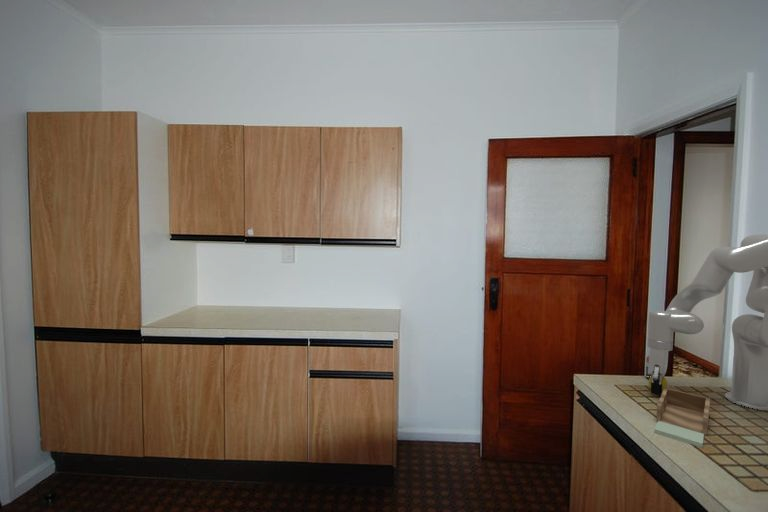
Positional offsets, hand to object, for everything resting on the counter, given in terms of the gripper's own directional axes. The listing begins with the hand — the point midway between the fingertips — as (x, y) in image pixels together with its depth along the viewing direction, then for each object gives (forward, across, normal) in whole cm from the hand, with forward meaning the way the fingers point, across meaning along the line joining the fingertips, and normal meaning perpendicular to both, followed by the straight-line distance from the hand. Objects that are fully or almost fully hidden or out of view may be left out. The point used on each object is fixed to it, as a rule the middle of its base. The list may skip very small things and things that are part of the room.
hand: (657, 390), depth 136 cm
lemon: (+2, 0, 0) cm, 2 cm away
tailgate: (+1, +27, +9) cm, 28 cm away
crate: (+1, +17, +9) cm, 19 cm away
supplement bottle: (+2, -17, -3) cm, 17 cm away
